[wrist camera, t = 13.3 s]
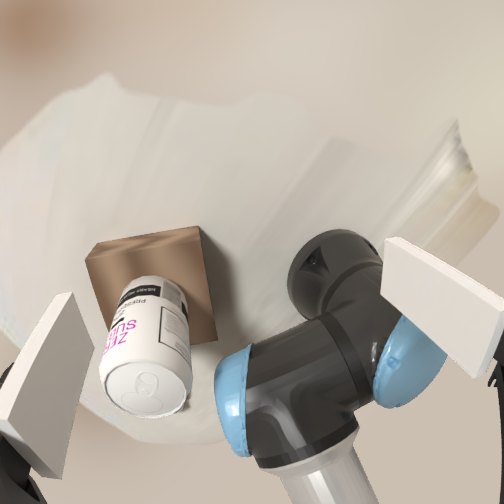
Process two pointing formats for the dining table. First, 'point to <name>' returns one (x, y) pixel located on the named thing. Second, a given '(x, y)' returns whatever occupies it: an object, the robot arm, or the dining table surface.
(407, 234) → the dining table surface
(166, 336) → the supplement can
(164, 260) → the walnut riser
